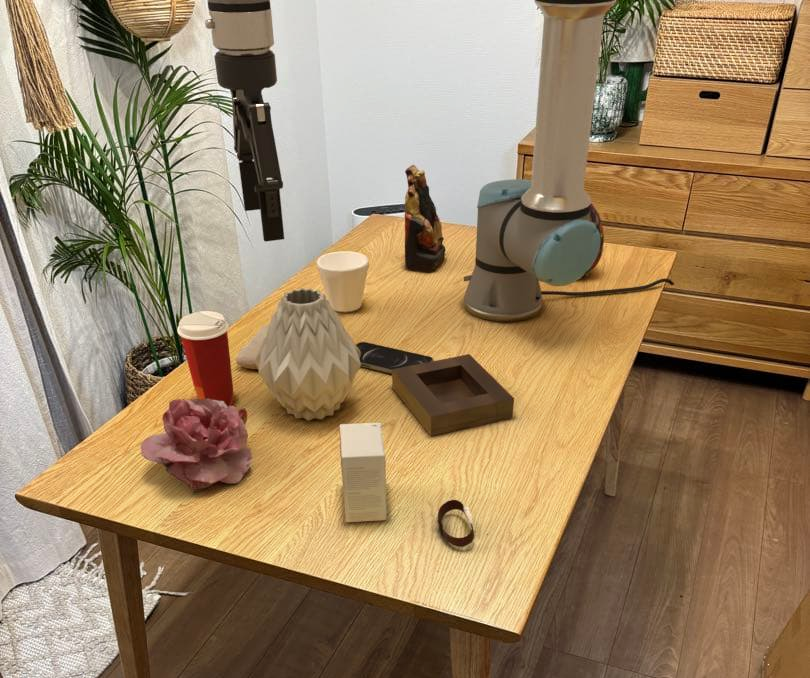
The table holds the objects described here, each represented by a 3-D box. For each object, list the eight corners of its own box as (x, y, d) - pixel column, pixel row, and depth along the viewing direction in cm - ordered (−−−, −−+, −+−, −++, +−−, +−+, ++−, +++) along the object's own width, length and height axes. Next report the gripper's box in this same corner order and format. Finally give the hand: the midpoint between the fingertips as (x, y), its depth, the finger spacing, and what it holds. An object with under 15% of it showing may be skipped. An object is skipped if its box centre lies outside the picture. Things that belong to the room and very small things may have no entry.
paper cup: (248, 394, 130) (236, 313, 121) (225, 417, 124) (211, 334, 115) (207, 386, 132) (191, 306, 123) (182, 409, 126) (164, 327, 117)
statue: (431, 275, 168) (433, 175, 155) (398, 269, 171) (396, 170, 158) (453, 256, 176) (457, 160, 163) (421, 250, 179) (422, 155, 166)
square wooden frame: (468, 372, 135) (469, 353, 133) (512, 417, 124) (514, 398, 122) (392, 388, 131) (392, 369, 129) (430, 436, 120) (431, 416, 118)
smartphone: (361, 340, 143) (435, 357, 137) (361, 345, 143) (435, 362, 138) (339, 357, 138) (415, 375, 132) (339, 362, 138) (415, 380, 133)
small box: (343, 487, 110) (338, 422, 103) (383, 485, 110) (381, 420, 103) (344, 523, 104) (340, 457, 97) (387, 521, 104) (385, 454, 97)
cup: (370, 296, 160) (369, 250, 154) (370, 317, 152) (368, 270, 146) (321, 297, 160) (317, 251, 154) (318, 318, 152) (314, 270, 146)
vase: (250, 394, 130) (234, 285, 118) (344, 375, 135) (337, 268, 123) (278, 444, 118) (263, 329, 106) (379, 421, 123) (376, 308, 111)
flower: (119, 468, 109) (126, 408, 103) (180, 427, 120) (190, 370, 114) (212, 516, 107) (225, 458, 101) (265, 470, 119) (279, 415, 113)
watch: (481, 547, 100) (483, 525, 98) (445, 553, 99) (446, 530, 97) (465, 511, 106) (466, 489, 103) (431, 515, 105) (431, 493, 103)
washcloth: (336, 334, 147) (335, 318, 145) (300, 379, 134) (298, 363, 132) (277, 326, 149) (275, 311, 147) (236, 370, 136) (233, 354, 134)
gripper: (198, 36, 107) (222, 200, 120) (231, 69, 89) (255, 257, 102) (253, 34, 109) (270, 195, 122) (297, 65, 91) (311, 250, 104)
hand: (263, 224), depth 112 cm, fingers open, 13 cm apart
